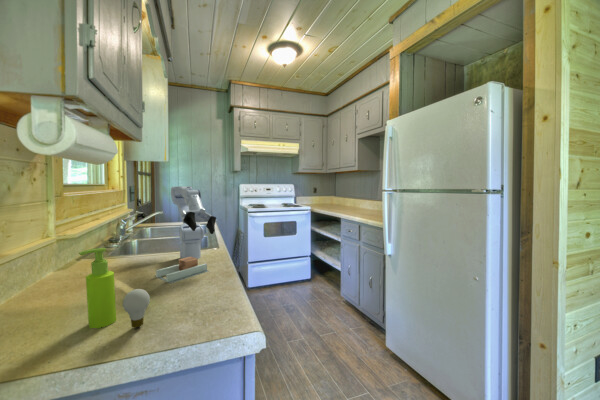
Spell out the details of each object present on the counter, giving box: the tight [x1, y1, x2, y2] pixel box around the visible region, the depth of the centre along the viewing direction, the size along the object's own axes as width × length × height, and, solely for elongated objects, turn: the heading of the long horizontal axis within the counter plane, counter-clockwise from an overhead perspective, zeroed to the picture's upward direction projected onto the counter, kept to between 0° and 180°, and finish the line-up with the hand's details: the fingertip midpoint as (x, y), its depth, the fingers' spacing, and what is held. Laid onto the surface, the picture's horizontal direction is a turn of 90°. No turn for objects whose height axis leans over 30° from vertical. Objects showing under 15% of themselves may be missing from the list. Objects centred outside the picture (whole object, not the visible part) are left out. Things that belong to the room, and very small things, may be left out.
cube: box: [178, 257, 199, 271], centre depth 105 cm, size 5×5×5 cm
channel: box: [154, 263, 210, 284], centre depth 103 cm, size 12×16×4 cm
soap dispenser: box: [78, 247, 117, 329], centre depth 70 cm, size 6×7×20 cm
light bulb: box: [122, 288, 151, 329], centre depth 68 cm, size 6×6×10 cm
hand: (204, 230), depth 104 cm, fingers open, 7 cm apart
